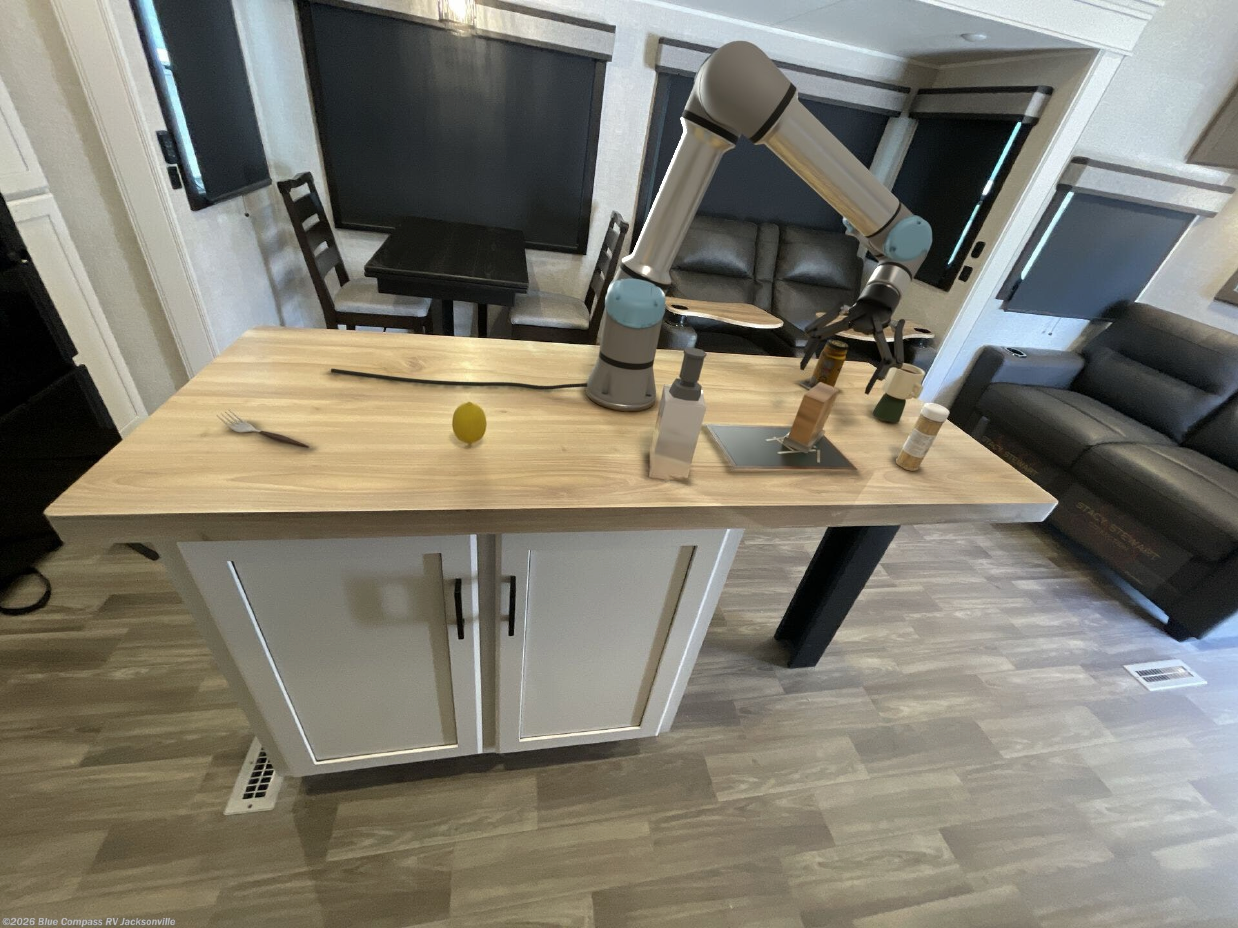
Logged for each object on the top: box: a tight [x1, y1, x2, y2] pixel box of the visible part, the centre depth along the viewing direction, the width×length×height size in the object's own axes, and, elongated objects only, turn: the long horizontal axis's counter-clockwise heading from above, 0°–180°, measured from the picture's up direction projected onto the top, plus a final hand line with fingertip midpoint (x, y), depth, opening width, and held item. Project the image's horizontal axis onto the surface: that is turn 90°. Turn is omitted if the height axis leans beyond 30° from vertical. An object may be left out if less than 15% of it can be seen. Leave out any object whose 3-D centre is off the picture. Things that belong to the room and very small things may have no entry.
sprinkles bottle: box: [895, 402, 950, 472], centre depth 104 cm, size 5×5×13 cm
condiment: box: [797, 339, 850, 392], centre depth 134 cm, size 7×8×12 cm
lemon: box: [451, 401, 488, 445], centre depth 89 cm, size 6×6×8 cm
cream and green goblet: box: [872, 362, 926, 423], centre depth 123 cm, size 11×7×13 cm, turn 18°
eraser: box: [783, 382, 840, 454], centre depth 105 cm, size 10×5×11 cm, turn 143°
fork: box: [216, 409, 310, 449], centre depth 84 cm, size 3×16×2 cm, turn 73°
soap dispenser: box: [648, 346, 708, 482], centre depth 89 cm, size 6×9×22 cm
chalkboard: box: [704, 423, 858, 471], centre depth 105 cm, size 26×16×1 cm, turn 101°
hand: (833, 378), depth 107 cm, fingers open, 13 cm apart
